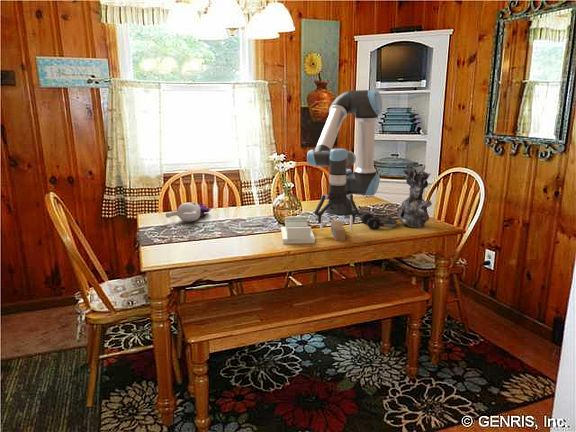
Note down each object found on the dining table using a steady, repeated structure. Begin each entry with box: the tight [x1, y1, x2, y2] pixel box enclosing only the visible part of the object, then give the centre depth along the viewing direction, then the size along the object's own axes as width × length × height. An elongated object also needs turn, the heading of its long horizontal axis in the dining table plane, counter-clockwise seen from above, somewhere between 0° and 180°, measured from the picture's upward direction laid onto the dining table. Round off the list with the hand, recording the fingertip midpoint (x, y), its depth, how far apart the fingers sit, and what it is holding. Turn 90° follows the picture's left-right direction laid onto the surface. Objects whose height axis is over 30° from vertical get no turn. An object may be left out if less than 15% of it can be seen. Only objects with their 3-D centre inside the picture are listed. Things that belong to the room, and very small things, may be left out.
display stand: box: [280, 215, 316, 245], centre depth 200 cm, size 19×14×7 cm
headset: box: [357, 205, 398, 230], centre depth 217 cm, size 14×10×20 cm
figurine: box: [165, 202, 212, 223], centre depth 228 cm, size 16×10×30 cm
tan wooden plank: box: [330, 220, 346, 241], centre depth 202 cm, size 15×4×5 cm, turn 3°
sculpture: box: [397, 164, 433, 229], centre depth 214 cm, size 14×15×30 cm
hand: (336, 229), depth 201 cm, fingers open, 13 cm apart
